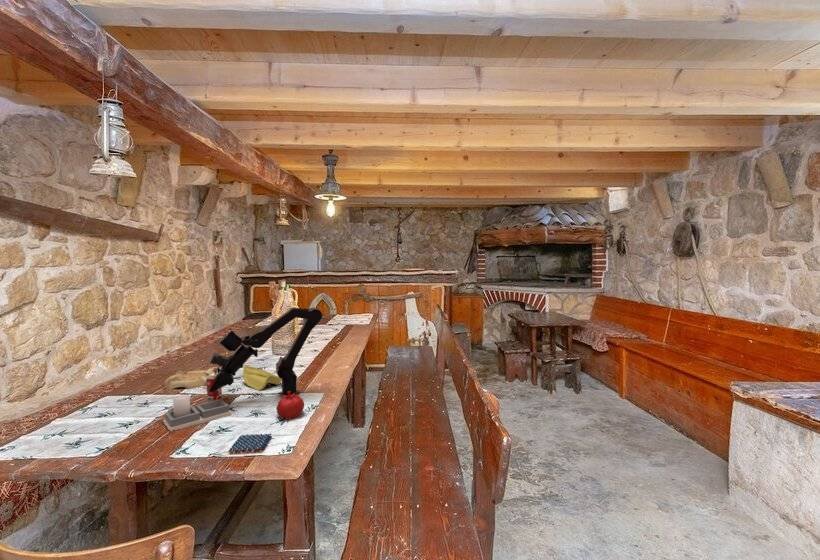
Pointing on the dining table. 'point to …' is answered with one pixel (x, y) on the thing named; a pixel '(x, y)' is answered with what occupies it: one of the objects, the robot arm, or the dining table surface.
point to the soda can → (215, 394)
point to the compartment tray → (194, 412)
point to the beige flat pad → (189, 379)
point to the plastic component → (259, 378)
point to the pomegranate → (290, 406)
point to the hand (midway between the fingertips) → (210, 389)
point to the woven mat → (250, 443)
